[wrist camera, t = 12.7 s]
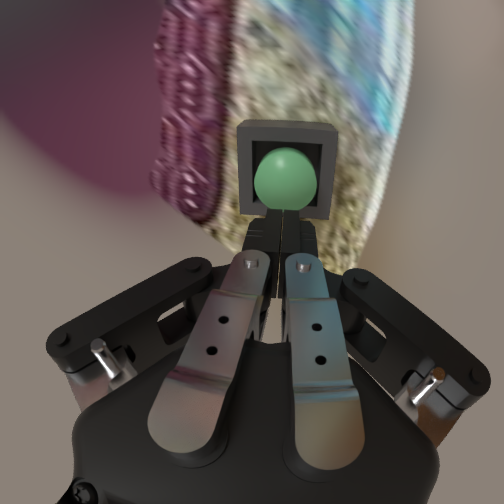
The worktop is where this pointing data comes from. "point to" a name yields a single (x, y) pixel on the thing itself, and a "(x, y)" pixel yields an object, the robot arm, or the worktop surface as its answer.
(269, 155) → the button
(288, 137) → the button housing
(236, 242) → the worktop surface
